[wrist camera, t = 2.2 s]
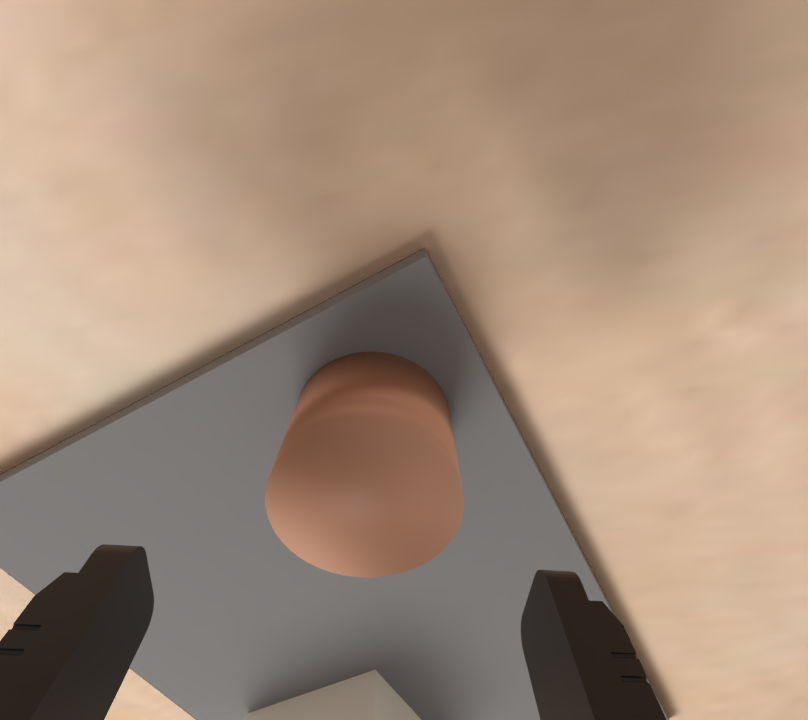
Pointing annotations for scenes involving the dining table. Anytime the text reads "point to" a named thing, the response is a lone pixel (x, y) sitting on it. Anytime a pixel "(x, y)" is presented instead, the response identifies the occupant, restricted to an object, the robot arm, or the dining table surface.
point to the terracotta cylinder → (367, 469)
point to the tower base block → (343, 703)
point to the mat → (266, 554)
